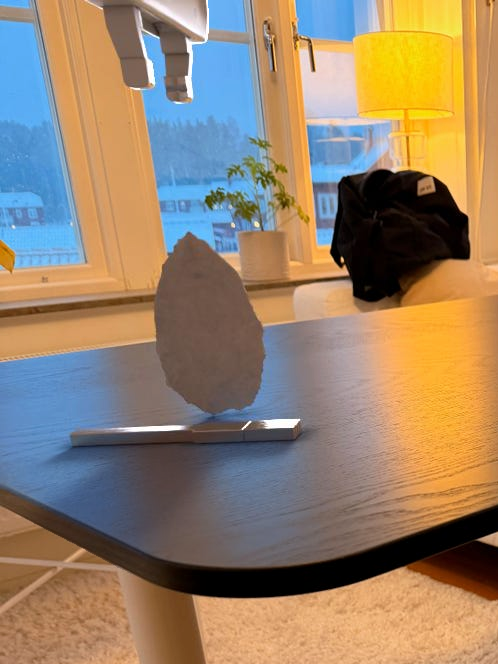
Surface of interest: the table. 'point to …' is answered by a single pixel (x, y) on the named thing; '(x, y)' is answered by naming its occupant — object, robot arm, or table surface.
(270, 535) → the table surface
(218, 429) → the grey long bar
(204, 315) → the stone tool
